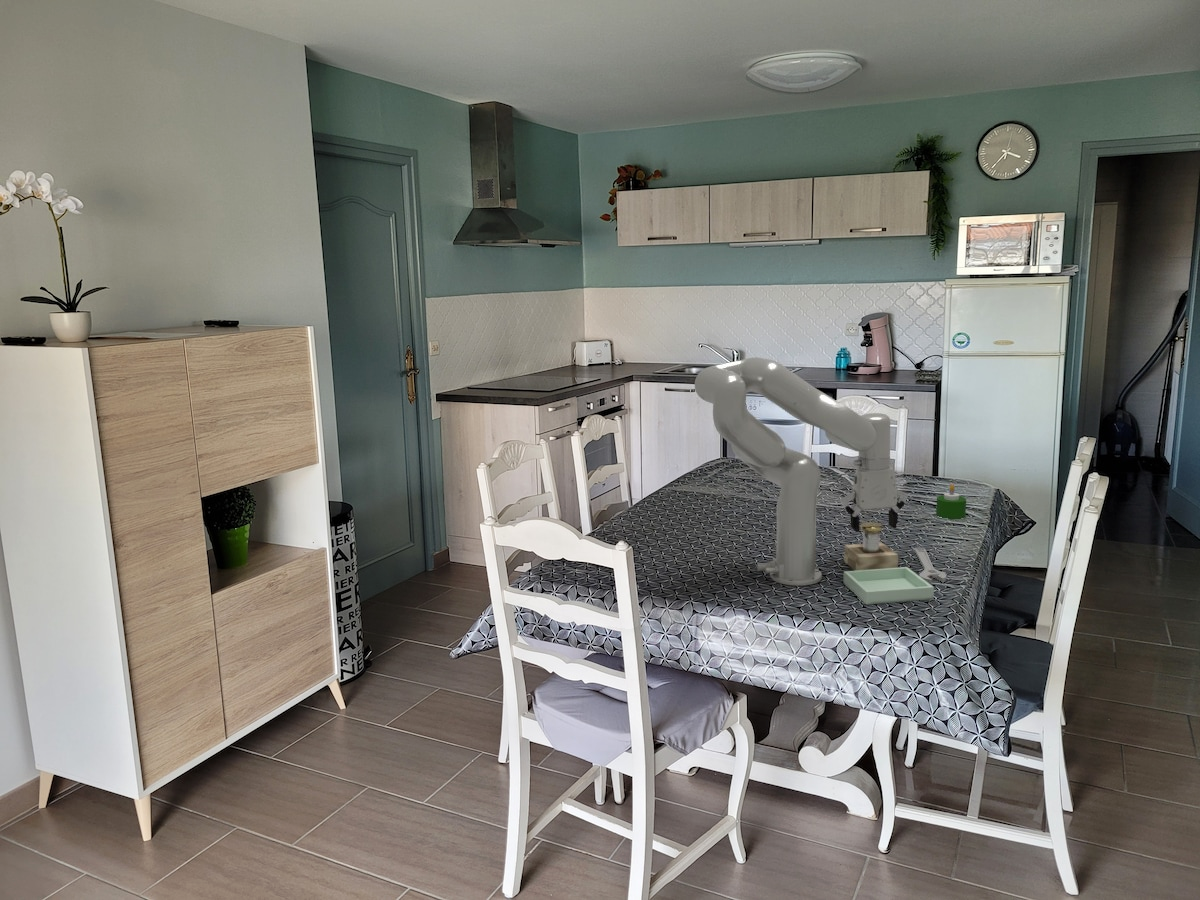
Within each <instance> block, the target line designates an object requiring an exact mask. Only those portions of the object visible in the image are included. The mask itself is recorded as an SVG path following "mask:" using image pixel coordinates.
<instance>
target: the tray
mask: <svg viewBox="0 0 1200 900" xmlns="http://www.w3.org/2000/svg"><path fill="white" fill-rule="evenodd" d="M842 580H843V582H842V583H843V585H845V587H847V588H848V589H849V590H850V591H851V592H854V593H853V594H854V595H856V596H857V597H858V598H859V599H860V600H861V601H862V602H863V603H864V604H865V605H878V604H891V603H904V602H918V601H919V600H920V601H929V600H930V599H933V600H934V597H935V594H934V593H935V587H934V586H933V585H932V584H929V583H928V582H926V581H925V580H924V579H922V578H921V577H920V576H919V574H917V573H916V572H915V571H914V570H912V569H911V568H909V567H908V566H904V567H898V568H886V569H871V570H857V571H855V570H846V571H843V579H842ZM920 601H919V602H920ZM930 601H931V600H930Z"/></svg>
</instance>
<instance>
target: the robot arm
mask: <svg viewBox="0 0 1200 900" xmlns="http://www.w3.org/2000/svg"><path fill="white" fill-rule="evenodd" d="M694 390H695V393H696V394H697V396H699V398H700V399H701V400H702V401H705V402H707V403H710V404H712V416H713V417H712V419H713V424H714V428H715V430H716V431H717V432H718V435H720V436H721V438H723V439H724V440H725V441H726V442H728V443H729V444H730V445H731V449H732V452H733V454H734V455H735V456H736V457H737V458H738V460H740V461H742V462H743V463H744V464H745V465H747V467H749V468H750V469H752V470H753V471H755V472H756V473H757V474H758V475H760V476H761V477H762V478H764V479H765V480H767V481H768V482H770V483H773V484H774V485H776V486H778V487H780V493H779V495H778V498H777V504H776V547H775V548H776V550H775V551H776V557H772V561H769V562H761V563H760V562H759V563H757V564H756V569H757V571H758V572H761V571H763V572H765V574H769V577H770V579H771V580H772V581H774V582H776V583H778V584H782V585H785V586H786V585H787V586H798V587H800V586H802V587H803V586H810V585H814V584H817V583H819V582H820V581H821V580H822V575H823V574H822V572H821V571H820V570H819V569H818V568H816V558H817V557H816V556H817V555H816V552H817V551H816V549H817V547H816V546H817V545H816V544H817V536H816V535H817V505H818V504H817V503H818V494H819V488H820V485H821V484H820V483H821V477H822V476H821V474H822V473H821V470H820V467H819V465H818V463H817V462H816V461H815V459H813V458H812V457H810V456H809V455H807V454H804V453H802V452H800V451H799V452H798V451H796V450H793V449H790V448H789V447H787V446H786V444H785V442H784V440H783V438H782V437H781V436H780V435H779V434H778V433H776V432H775V431H774V430H772V429H771V428H770V427H768V426H767V425H765V424H764V423H763V422H761V421H760V420H759V419H757V417H755V416H754V415H753V414H752V413H751V412H750V411H749V410H748V407H747V393H750V392H751V393H755V394H758V395H760V396H762V397H764V398H765V399H767V400H769V402H771V403H773V404H774V405H776V406H777V407H779V408H781V409H782V410H784V411H785V412H786V413H788V414H789V415H791V416H792V417H793V418H795V419H796V420H798V421H801V422H802V423H805V424H807V425H810V426H812V427H816V428H817V429H820V430H822V431H824V435H825V436H826V438H827V440H828V441H829V442H831V443H832V444H833V445H837V446H839V447H842V448H845V449H848V450H851V451H854V452H858V456H857V459H856V460H853V466H854V467H855V466H857V467H856V468H855V473H854V476H853V477H854V478H853V484H852V485H853V486H852V492H850V493H849V494H847V495H845V496H843V497H842V498H840V499H839V501H840V504H841V505H842V507H843V509H844V510H845V511H846V512H847V513H848V515H850V528H851V529H852V530H853V531H855V533H858V532H860V517H859V514H860V513H861V511H862V510H863V511H869V510H881V509H889V508H890V509H889V510H888V526H889V527H891V528H893V529H897V524H898V522H899V521H898V518H899V513H900V511H901V509H902V508H903V507H904V506H905V504H906V501H907V500H908V497H909V494H907V493H906V492H904V491H902V490H899V489H897V481H896V474H895V469H894V468H893V467H892V466H891V419H890V416H888V415H887V414H885V413H879V412H877V413H876V412H872V413H870V412H869V413H865V414H862V415H860V414H859V413H857V412H856V411H854V410H853V409H851V408H849V407H848V406H846V405H845V404H843V403H841V402H839V401H838V400H835V399H834V398H833V397H831V396H829V395H828V394H826V393H824V392H823V391H821V390H819V389H817V388H816V387H814V386H813V385H812V384H810V383H808V381H806V380H804V379H803V378H801V377H800V376H799V375H797V374H796V373H794V372H793V371H792V370H790V369H788V368H787V367H785V366H784V365H783V364H782V363H780V362H777V361H775V360H772V359H769V358H763V357H747V358H744V359H739V360H735V361H730V362H726V363H721V364H716V365H710V366H707V367H705V368H703V369H702V370H701V371H700V372H699V373H698V374H697V376H696V377H695V381H694ZM898 497H899V499H898ZM850 501H852V503H853V505H852V506H850V505H849V502H850Z"/></svg>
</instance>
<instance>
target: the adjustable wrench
mask: <svg viewBox="0 0 1200 900" xmlns="http://www.w3.org/2000/svg"><path fill="white" fill-rule="evenodd" d="M915 553H916V554H915ZM914 554H915V556H916V555H917V556H916V558H917V557H918V558H917V560H918V559H919V560H918V562H919V561H920V562H919V564H920V563H921V564H920V566H921V565H922V566H921V567H923V568H922V571H921V572H920V573H919V574H918V576H920V577H921V578H922V579H924V580H925V581H926V582H928V583H930V585H932V584H933V580H937V581H938V580H939V581H938V582H940V581H941V582H945V581H946V582H947V572H944V571H940V570H937V569H936V568H935V567H934V566H933V563H932V561H931V559H930V557H929V555H928V552H927V549H926V548H924V547H914ZM923 569H924V570H923ZM933 578H935V579H933ZM941 582H940V583H941ZM946 582H945V583H946Z"/></svg>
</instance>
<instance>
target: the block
mask: <svg viewBox="0 0 1200 900" xmlns="http://www.w3.org/2000/svg"><path fill="white" fill-rule="evenodd" d="M843 557H844V559H843V561H844V563H845V564H846V565H848V566H849V567H850V568H851V569H852V571H857V570H871V569H886V568H899V554H898V553H897V552H896V551H894V550H893V549H891V548H890V547H888V546H887V545H886V544H885V543H883V542H879V553H869V554H865V553H863V543H853V544H844V556H843Z"/></svg>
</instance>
